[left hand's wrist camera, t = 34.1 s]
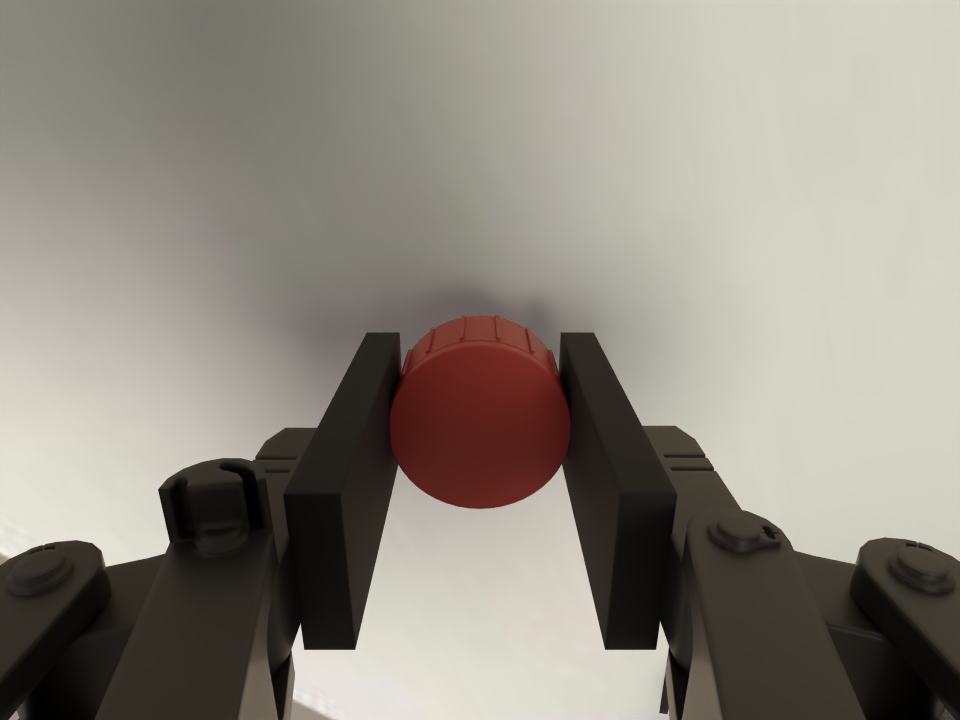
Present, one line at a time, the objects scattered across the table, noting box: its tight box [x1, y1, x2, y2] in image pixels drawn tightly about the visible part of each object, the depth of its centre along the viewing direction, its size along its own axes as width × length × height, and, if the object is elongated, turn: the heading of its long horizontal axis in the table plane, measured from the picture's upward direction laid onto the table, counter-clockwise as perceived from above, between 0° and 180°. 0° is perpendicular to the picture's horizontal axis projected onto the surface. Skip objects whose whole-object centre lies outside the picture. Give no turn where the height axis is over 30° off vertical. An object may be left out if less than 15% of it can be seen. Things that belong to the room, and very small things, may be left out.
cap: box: [389, 316, 571, 509], centre depth 14 cm, size 4×4×2 cm
